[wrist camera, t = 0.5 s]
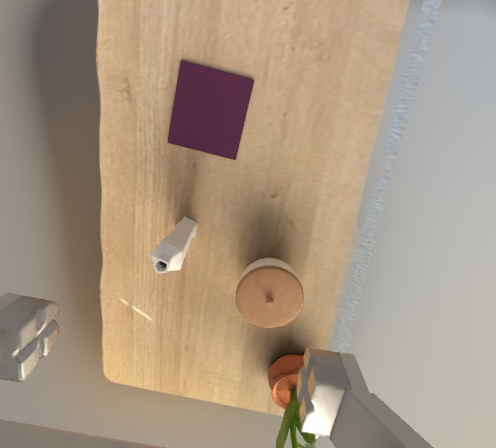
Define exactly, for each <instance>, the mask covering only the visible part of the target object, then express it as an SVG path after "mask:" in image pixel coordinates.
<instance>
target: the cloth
mask: <svg viewBox="0 0 496 448" xmlns="http://www.w3.org/2000/svg"><path fill="white" fill-rule="evenodd" d="M253 83H254V80H252V79H249V78H245V77H241V76H237V75H234V74H230V73H226V72H222V71H219V70H215V69H211V68H207V67H204V66H200V65H196V64H192V63H189V62H185V61H181V63H180V69H179V75H178V81H177V87H176V93H175V100H174V106H173V112H172V118H171V124H170V130H169V136H168V143H171V144H175V145H179V146H183V147H187V148H191V149H195V150H199V151H203V152H206V153H210V154H214V155H218V156H222V157H226V158H230V159H234V160H236V156H237V151H238V147H239V143H240V139H241V134H242V130H243V126H244V121H245V117H246V113H247V109H248V104H249V100H250V96H251V91H252V87H253Z"/></svg>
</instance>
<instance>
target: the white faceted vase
mask: <svg viewBox="0 0 496 448" xmlns="http://www.w3.org/2000/svg"><path fill="white" fill-rule="evenodd" d="M197 225H198V224H197V222H195V221H193V220H191V219H189V218H187V217H183V218H182V219H181V220H180V221H179V222H178V223H177V224H176V225H175V229H174V230H173V231H172V232H171V233H170V234H169V235H168V236H167V237H166V238H165V239H164V240H163V241H162V242H161V243H160V244H159V245H158V246H157V247H156V248H155V249H154V250H153V251H152V252H151V253H150V256H151V258H152V259H153V261H154V263H153V267H154V268H155V270H156V272H157V273H167V272H168V271H173V270H180V268H181V266H182V263H183V260H184V258H185V255H186V252H187V250H188V247H189V244H190V242H191V239H192V237H195V236H196V231H197Z"/></svg>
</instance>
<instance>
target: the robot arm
mask: <svg viewBox="0 0 496 448" xmlns="http://www.w3.org/2000/svg"><path fill="white" fill-rule="evenodd" d="M58 314H59V310H58V305H57V303H56V302H54V301H49V300H44V299H39V298H34V297H29V296H23V295H18V294H13V293H7V294H4V295H3V296H1V297H0V379H3V380H10V381H17V382H23V381H24V379H25V378H26V377H27V376H28V375H29V374H30V373H31V372H32V371H33V370H34V369H35V367H36V366H37V359H39V358H42V357H44V356H46V355H47V354H48V353H49V352H50V350H52V348H53V346H54V344H55V342H56V340H57V337H58V333H59V325H58V324H57V322H56V321H55V320H54V318H55V317H56V316H57V315H58ZM303 359H304V366H303V367H301V368H300V371H299V375H298V381H297V398H298V401H299V402H300V403H301V407H300V411H299V415H300V422H301V430H302V432H307V433H312V434H317V435H322V436H327V437H330V440H331V442H332V443H333V444H334V446H335V447H336V448H433V447H432V446H431V445H430V444H429V443H428V442H426V441H425V440H424V439H423V438H422V437H421V436H420V435H419V434H418V433H417V432H415V431H414V430H413V429H412V428H411V427H410V426H409V425H408V424H407V423H406V422H405V421H403V420H402V419H401V418H400V417H399V416H398V415H397V414H396V413H395V412H394V411H392V410H391V409H390V408H389V407H388V406H387V405H386V404H385V403H384V402H383V401H381V400H380V399H379V398H378V397H377V396H376V395H375V394H373V393H369V391H368V388H367V386H366V383H365V381H364V378H363V376H362V373H361V371H360V368H359V366H358V363H357V361H356V358H355V356H354V355H353V354H348V353H341V352H332V351H326V350H320V349H314V348H309V347H307V348H306V350H305V353H304V356H303ZM0 448H163V447H157V446H151V445H146V444H140V443H134V442H128V441H123V440H117V439H111V438H104V437H99V436H93V435H88V434H82V433H76V432H70V431H64V430H59V429H53V428H47V427H41V426H36V425H30V424H24V423H18V422H13V421H7V420H1V419H0Z"/></svg>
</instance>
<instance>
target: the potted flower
mask: <svg viewBox="0 0 496 448" xmlns="http://www.w3.org/2000/svg"><path fill="white" fill-rule="evenodd" d="M303 366H304V359H303V356H300V355H287V356H284V357H281V358H280V359H278V360H277V361H276V362H275V363H274V364H273V365H272V366H271V368H270V370H269V372H268V381H269V386H270V388H271V390H272V398H273V400H274V402H275V403H276V404H277V405H278V406H279V407H281V408H282V409H284V410H285V413H284V417H283V421H282V424H281V428H280V431H279V434H278V437H277V440H276V448H283V447H284V444H285V441H286V438H287V435H288V431H289V428H290V433H291V442H292V447H293V448H298V447H299V448H316V446H315V443H316V438H318V436H319V435H317V434H312V433H307V432H302V430H301V422H300V415H299V411H300V407H301V403H300V402H299V401H298V398H297V381H298V375H299V371H300V368H301V367H303ZM296 427H297V429H298V430H299V432H300V433H301V435H302V437H303V438H304V440H305V441H306V442H307V443H308V444H305V446H306V447H303V446H302V445H300V444H299V443H298V442H297V439H296ZM314 441H315V442H314ZM313 443H314V444H313ZM309 444H310V445H309Z"/></svg>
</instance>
